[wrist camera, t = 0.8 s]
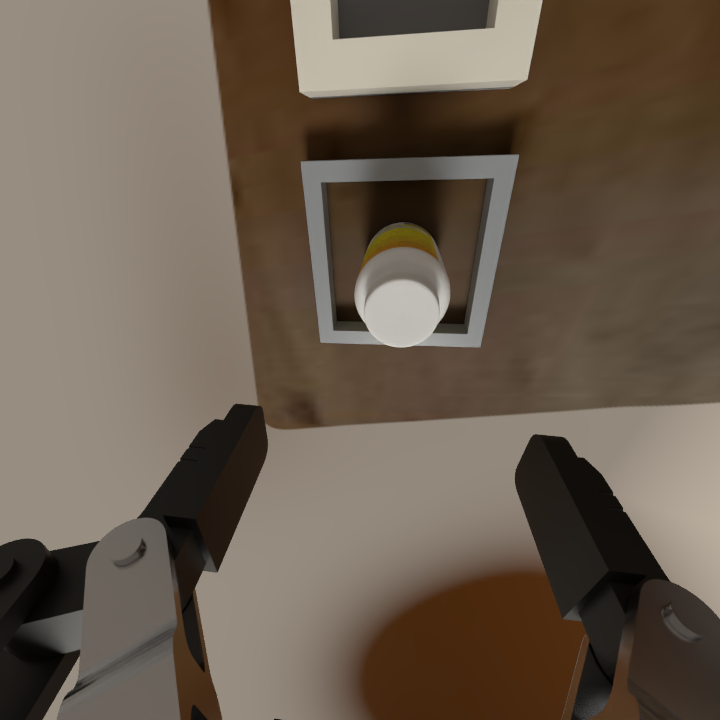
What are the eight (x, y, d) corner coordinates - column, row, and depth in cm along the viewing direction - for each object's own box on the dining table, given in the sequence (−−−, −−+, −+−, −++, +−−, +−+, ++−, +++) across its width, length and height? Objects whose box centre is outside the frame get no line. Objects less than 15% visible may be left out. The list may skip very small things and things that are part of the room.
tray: (510, 154, 21) (519, 154, 19) (476, 336, 28) (480, 347, 27) (307, 160, 22) (300, 161, 21) (324, 332, 30) (320, 342, 28)
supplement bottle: (352, 245, 25) (327, 295, 17) (418, 205, 23) (428, 238, 15) (387, 304, 27) (380, 374, 19) (449, 272, 25) (473, 335, 17)
